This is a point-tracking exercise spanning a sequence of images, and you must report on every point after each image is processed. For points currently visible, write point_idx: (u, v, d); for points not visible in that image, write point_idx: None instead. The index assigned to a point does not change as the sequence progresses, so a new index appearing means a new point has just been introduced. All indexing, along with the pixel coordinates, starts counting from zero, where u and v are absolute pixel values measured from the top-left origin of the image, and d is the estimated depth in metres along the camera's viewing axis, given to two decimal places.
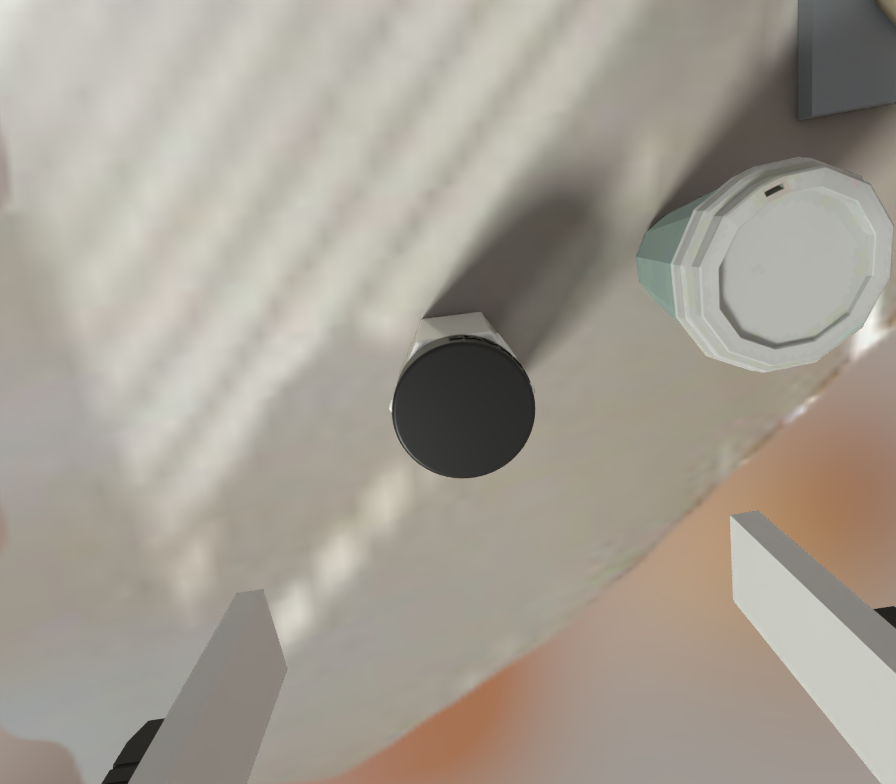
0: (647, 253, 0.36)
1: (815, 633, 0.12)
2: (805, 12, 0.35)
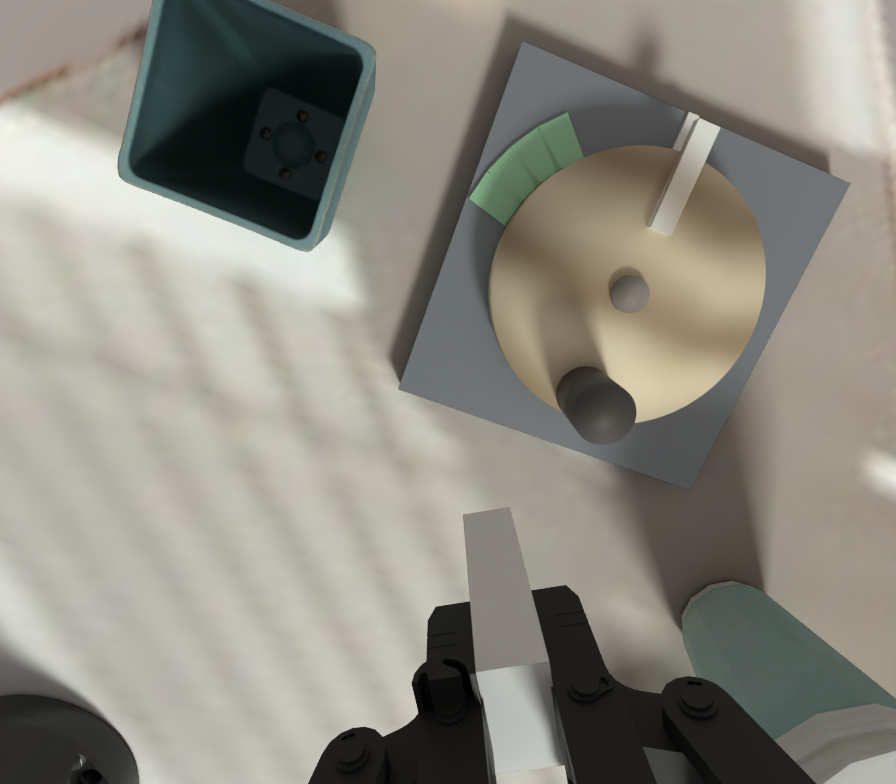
0: None
1: None
2: None
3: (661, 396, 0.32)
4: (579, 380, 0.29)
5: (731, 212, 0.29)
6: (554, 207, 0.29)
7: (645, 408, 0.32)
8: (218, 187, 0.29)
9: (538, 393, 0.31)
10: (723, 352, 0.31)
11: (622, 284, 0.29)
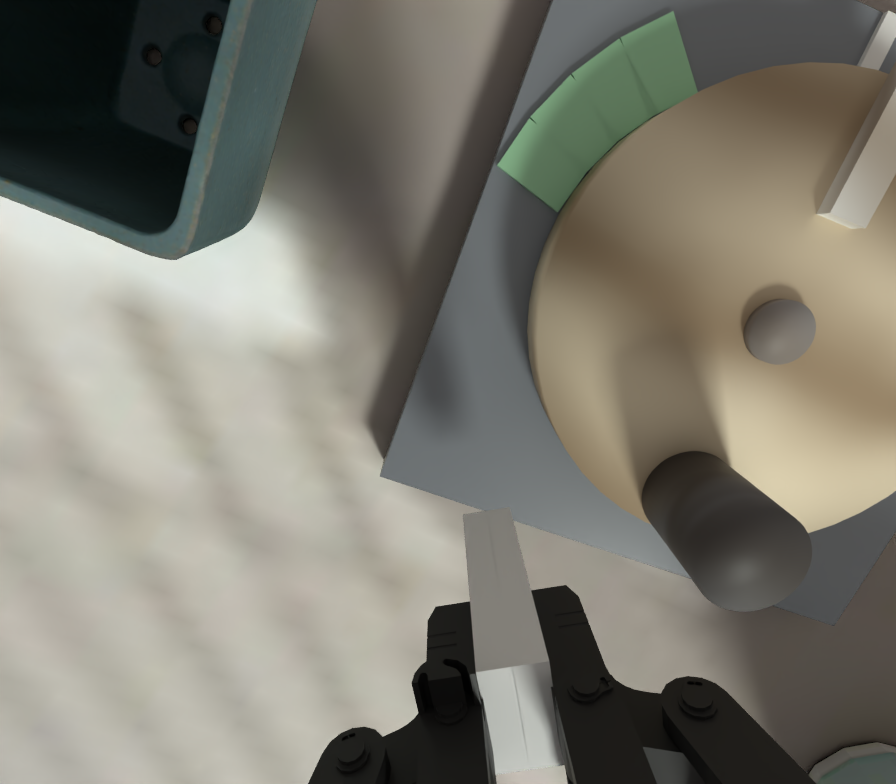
0: None
1: None
2: None
3: (817, 498, 0.19)
4: (695, 486, 0.16)
5: None
6: (654, 178, 0.16)
7: None
8: (51, 142, 0.16)
9: (612, 494, 0.19)
10: None
11: (768, 315, 0.17)
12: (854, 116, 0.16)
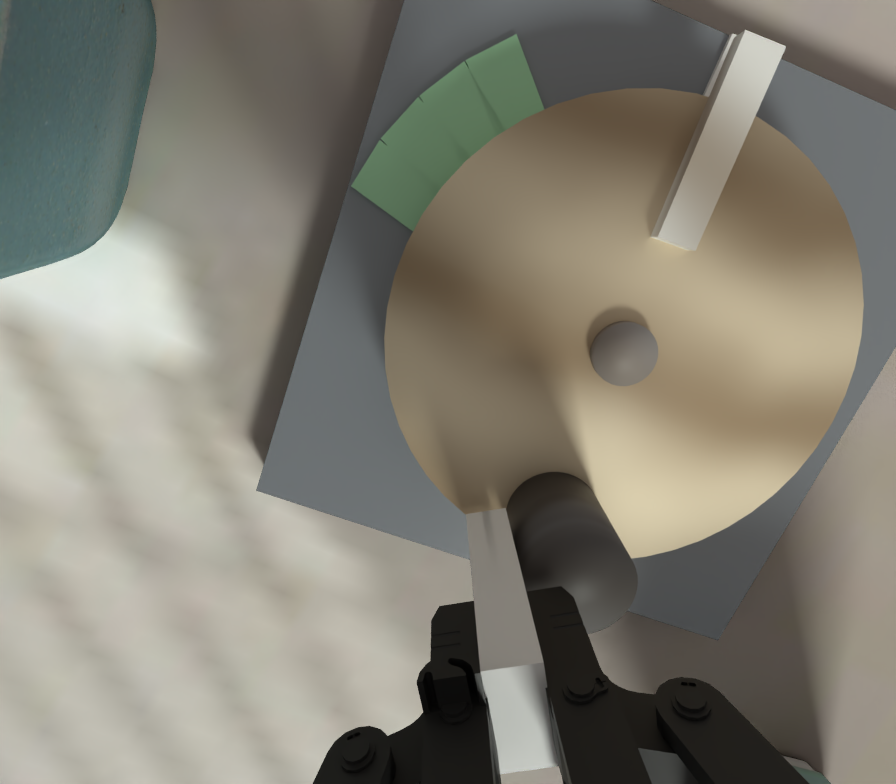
0: None
1: None
2: None
3: (681, 515, 0.19)
4: (537, 510, 0.16)
5: (803, 205, 0.16)
6: (485, 208, 0.16)
7: (655, 534, 0.19)
8: None
9: None
10: (787, 443, 0.18)
11: (609, 338, 0.17)
12: (678, 140, 0.16)
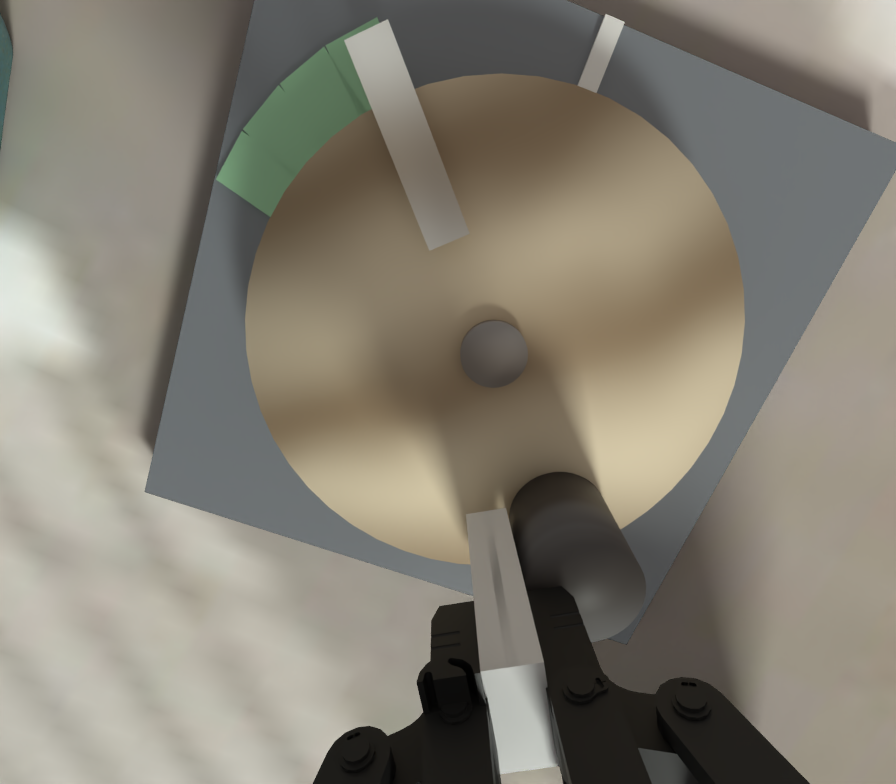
0: None
1: None
2: None
3: (671, 435, 0.17)
4: (518, 541, 0.16)
5: (532, 112, 0.15)
6: (289, 338, 0.17)
7: (662, 467, 0.18)
8: None
9: None
10: (711, 305, 0.16)
11: (468, 354, 0.16)
12: (381, 160, 0.15)
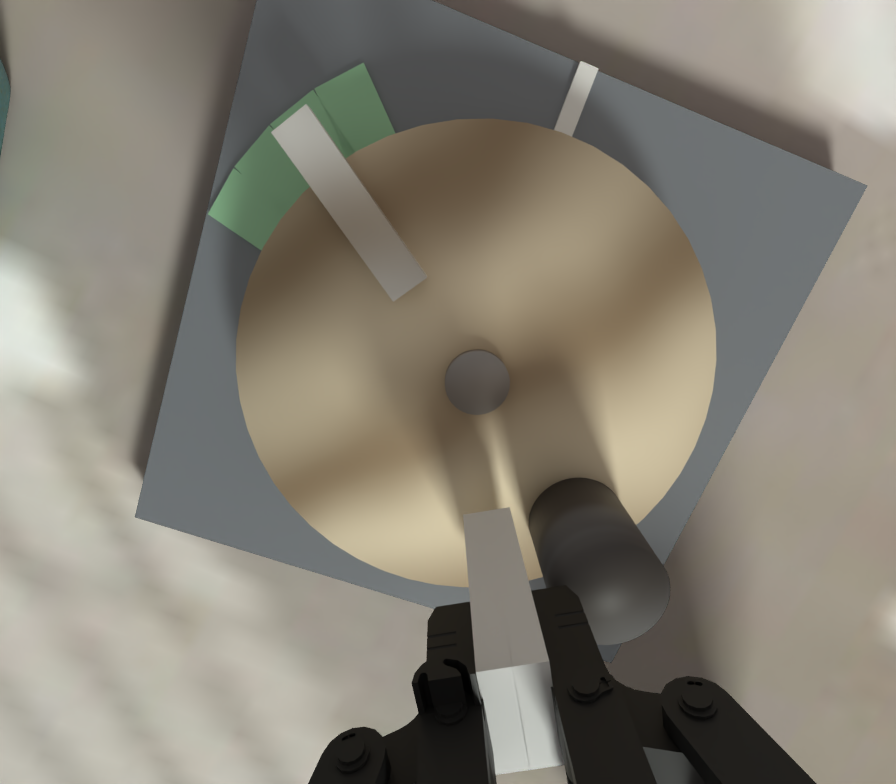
0: None
1: None
2: None
3: (666, 421, 0.18)
4: (539, 555, 0.17)
5: (459, 153, 0.15)
6: (284, 410, 0.17)
7: (666, 452, 0.18)
8: None
9: (528, 575, 0.19)
10: (674, 290, 0.17)
11: (452, 387, 0.17)
12: (331, 229, 0.16)
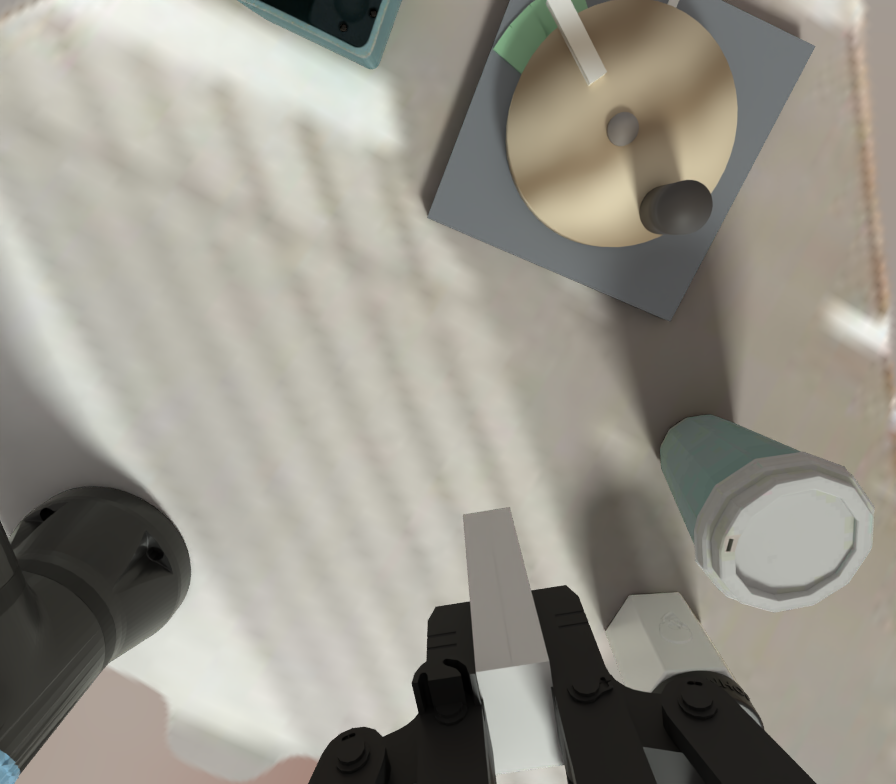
0: None
1: None
2: (593, 288, 0.42)
3: (711, 155, 0.37)
4: (650, 207, 0.36)
5: (625, 14, 0.34)
6: (528, 142, 0.37)
7: (710, 173, 0.37)
8: None
9: (636, 241, 0.38)
10: (719, 86, 0.35)
11: (611, 130, 0.36)
12: (563, 49, 0.35)
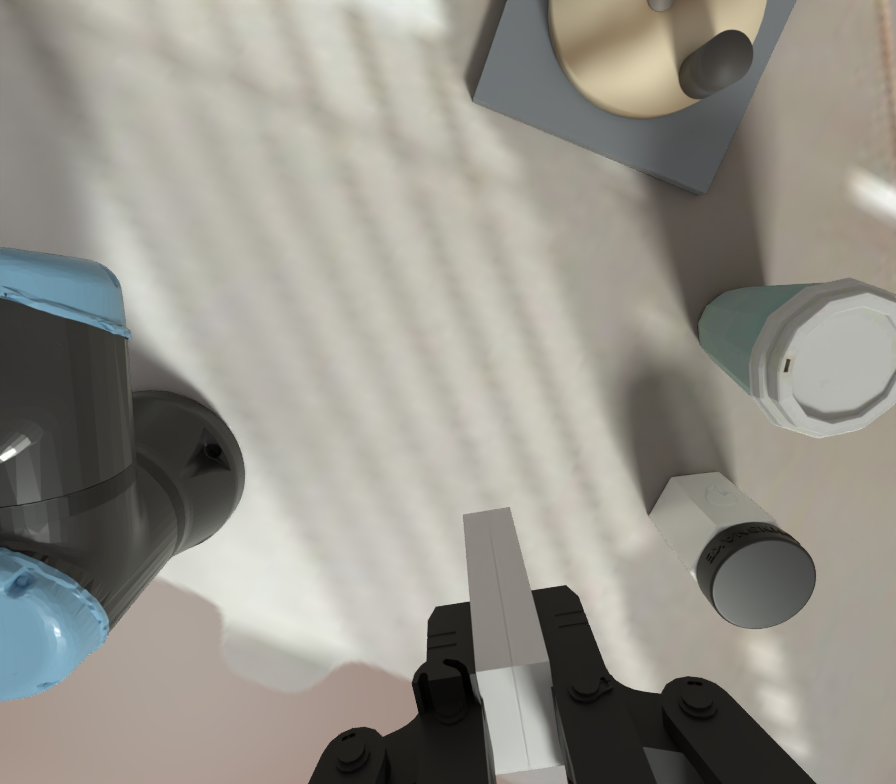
0: (724, 371, 0.45)
1: None
2: (632, 165, 0.44)
3: (745, 18, 0.39)
4: (692, 64, 0.38)
5: None
6: (572, 10, 0.38)
7: None
8: None
9: (676, 107, 0.40)
10: None
11: None
12: None
